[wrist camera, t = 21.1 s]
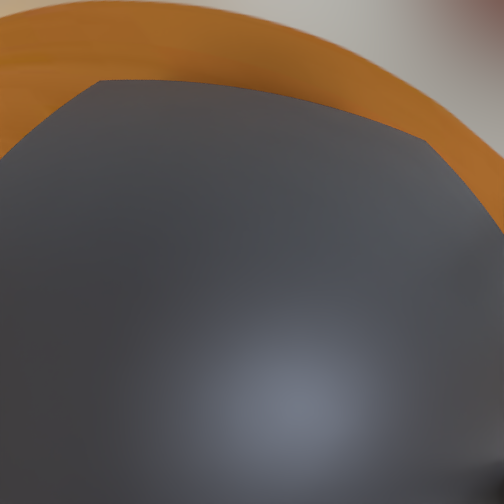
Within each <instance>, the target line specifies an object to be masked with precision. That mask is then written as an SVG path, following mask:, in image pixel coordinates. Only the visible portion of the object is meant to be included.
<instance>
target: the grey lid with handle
mask: <svg viewBox="0 0 504 504" xmlns="http://www.w3.org/2000/svg"><path fill="white" fill-rule="evenodd" d="M0 504H504V234H503V233H502V231H501V230H500V229H499V227H498V226H497V224H496V223H495V221H494V220H493V219H492V217H491V216H490V215H489V213H488V212H487V210H486V209H485V208H484V207H483V205H482V204H481V203H480V201H479V200H478V199H477V198H476V196H475V195H474V194H473V193H472V191H471V190H470V189H469V188H468V187H467V185H466V184H465V183H464V182H463V181H462V179H461V178H460V177H459V176H458V175H457V174H456V173H455V172H454V170H453V169H452V168H451V167H450V166H449V165H448V164H447V163H446V162H445V161H444V160H443V159H442V157H441V156H440V155H439V154H438V153H437V152H436V151H435V150H434V149H433V148H432V147H431V146H430V145H429V144H428V143H427V142H426V141H424V140H422V139H420V138H417V137H415V136H413V135H410V134H408V133H405V132H403V131H400V130H398V129H395V128H392V127H390V126H387V125H384V124H382V123H379V122H376V121H373V120H370V119H367V118H364V117H361V116H358V115H355V114H352V113H348V112H345V111H342V110H338V109H335V108H331V107H328V106H324V105H320V104H317V103H313V102H309V101H305V100H300V99H296V98H292V97H287V96H282V95H278V94H273V93H267V92H262V91H256V90H250V89H244V88H237V87H230V86H223V85H214V84H205V83H195V82H182V81H164V80H105V81H99V82H97V83H95V84H94V85H92V86H91V87H89V88H88V89H86V90H85V91H83V92H82V93H80V94H79V95H77V96H76V97H74V98H73V99H72V100H70V101H69V102H67V103H66V104H65V105H63V106H62V107H61V108H59V109H58V110H57V111H55V112H54V113H53V114H51V115H50V116H49V117H48V118H46V119H45V120H44V121H43V122H41V123H40V124H39V125H38V126H36V127H35V128H34V129H33V130H32V131H31V132H29V133H28V134H27V135H26V136H25V137H24V138H23V139H22V140H20V141H19V142H18V143H17V144H16V145H15V146H14V147H13V148H12V149H11V150H10V151H9V152H8V153H7V154H6V155H5V156H4V157H3V158H2V159H1V160H0Z"/></svg>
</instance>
